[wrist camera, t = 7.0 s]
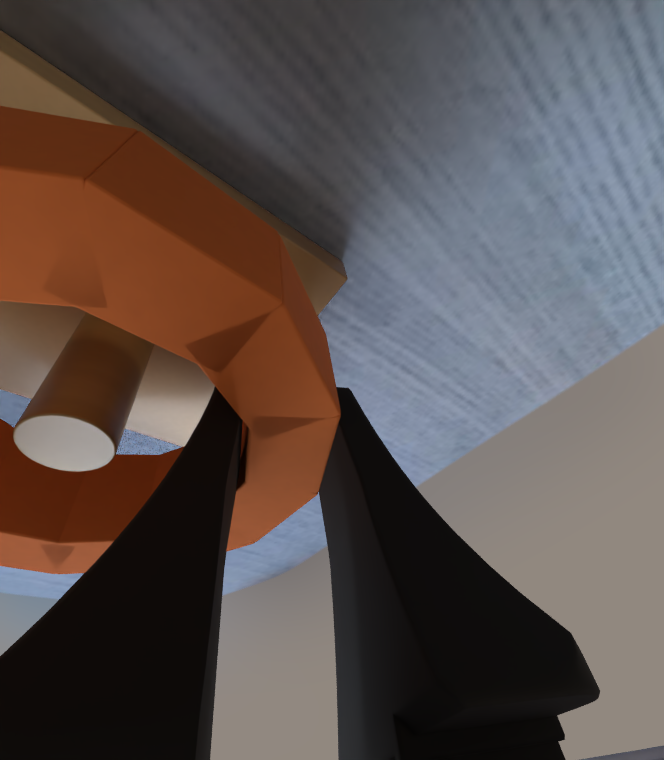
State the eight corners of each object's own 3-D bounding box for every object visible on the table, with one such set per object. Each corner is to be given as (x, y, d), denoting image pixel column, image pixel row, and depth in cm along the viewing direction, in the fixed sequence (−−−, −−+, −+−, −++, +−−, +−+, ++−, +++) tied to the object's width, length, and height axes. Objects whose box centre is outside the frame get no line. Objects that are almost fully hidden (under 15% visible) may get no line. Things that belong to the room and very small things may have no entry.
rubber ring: (-53, 488, 13) (-116, 583, 11) (-415, 33, 6) (-837, 46, 4) (294, 486, 16) (299, 563, 13) (361, 167, 8) (398, 222, 6)
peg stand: (208, 433, 18) (188, 572, 14) (-72, 337, 13) (-249, 502, 9) (343, 261, 13) (382, 388, 9) (-20, 15, 9) (-350, 11, 4)
